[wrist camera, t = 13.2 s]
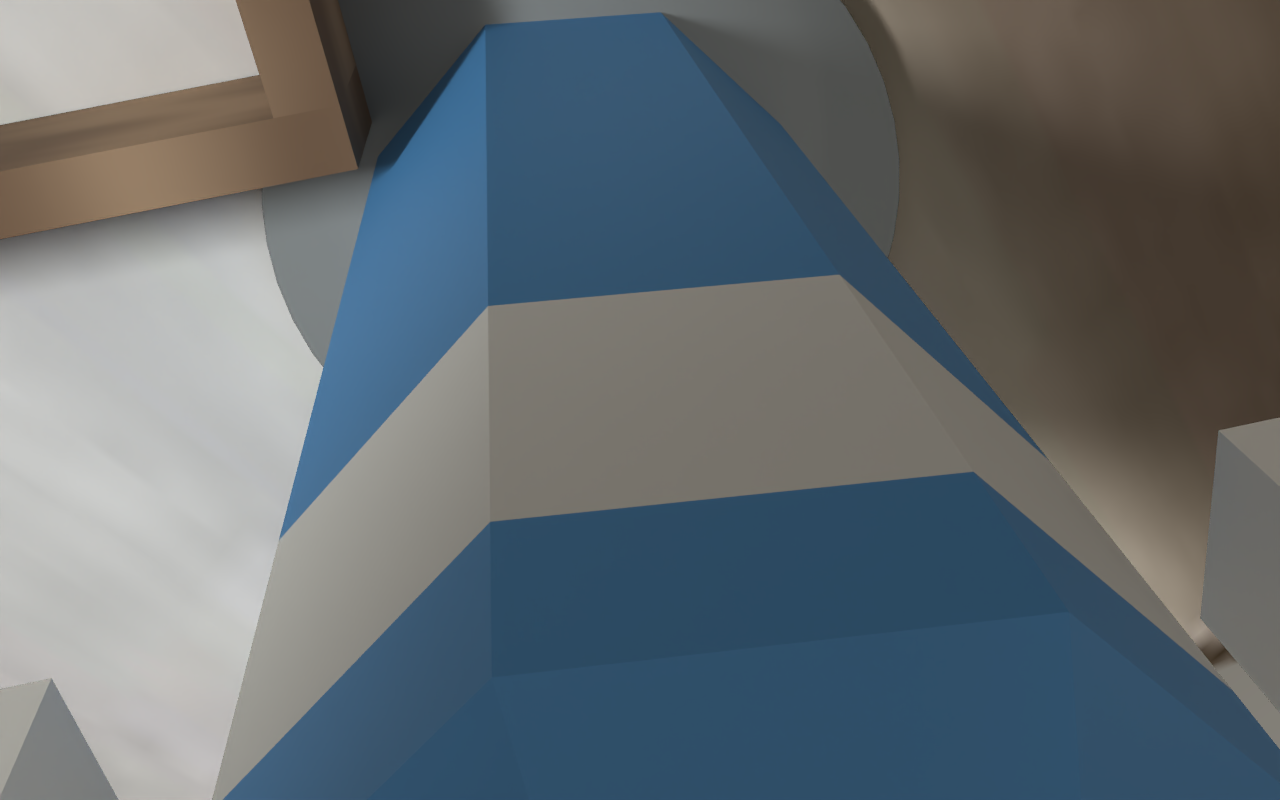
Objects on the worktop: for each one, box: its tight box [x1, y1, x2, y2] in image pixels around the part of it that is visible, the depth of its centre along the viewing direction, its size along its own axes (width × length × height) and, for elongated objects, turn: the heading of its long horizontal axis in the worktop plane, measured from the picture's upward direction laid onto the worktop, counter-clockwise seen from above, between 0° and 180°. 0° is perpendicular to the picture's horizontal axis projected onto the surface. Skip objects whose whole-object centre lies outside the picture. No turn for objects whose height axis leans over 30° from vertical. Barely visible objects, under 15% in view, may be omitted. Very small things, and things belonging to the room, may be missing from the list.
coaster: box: [262, 0, 899, 367], centre depth 27 cm, size 14×14×1 cm
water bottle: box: [212, 12, 1280, 800], centre depth 15 cm, size 9×9×25 cm
